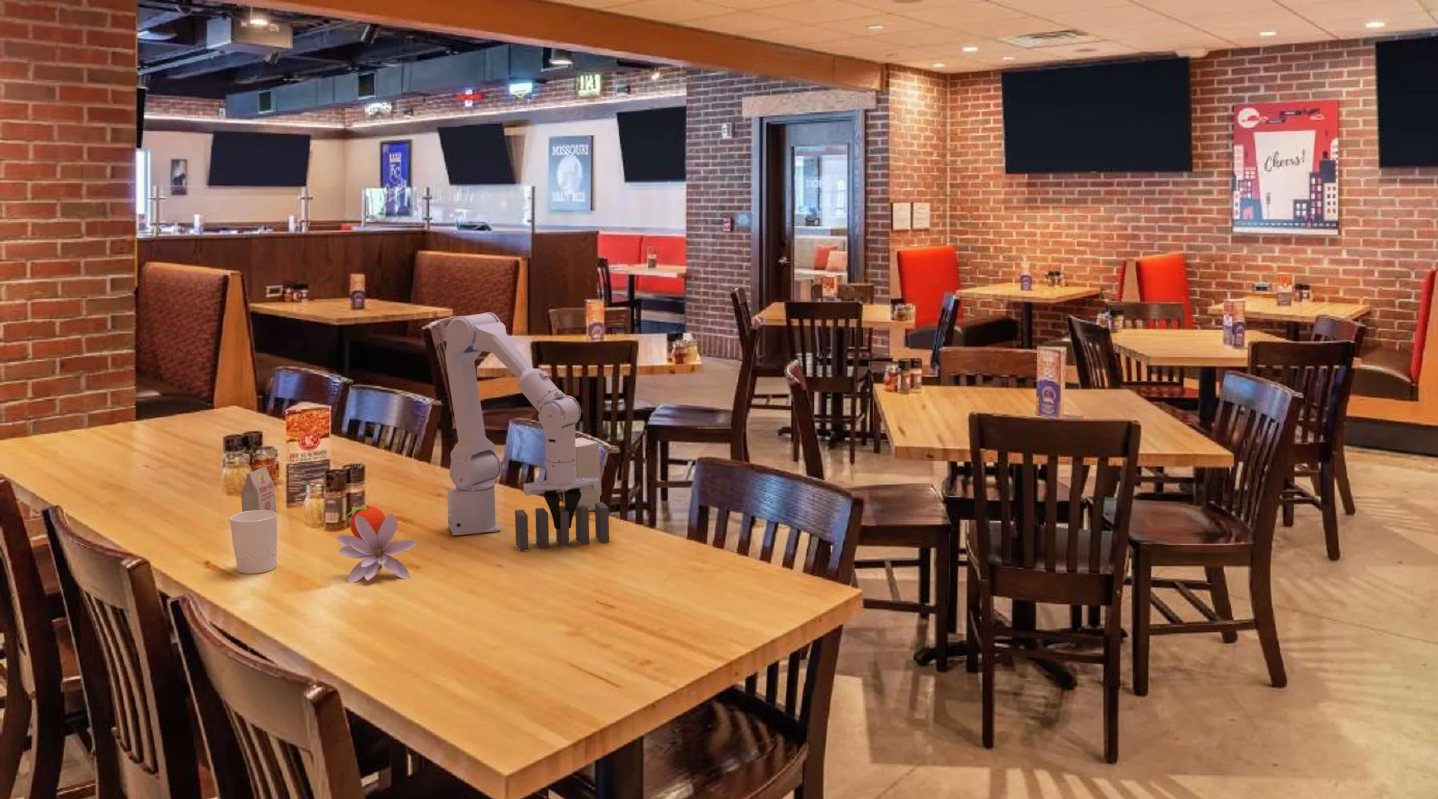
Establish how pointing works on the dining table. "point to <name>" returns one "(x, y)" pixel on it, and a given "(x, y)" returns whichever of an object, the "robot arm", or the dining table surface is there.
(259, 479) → the milk carton
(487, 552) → the dining table surface
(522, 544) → the tile
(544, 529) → the tile
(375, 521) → the tomato
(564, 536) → the tile
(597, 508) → the tile
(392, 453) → the dining table surface
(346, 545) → the water lily
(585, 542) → the tile
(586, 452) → the skincare box
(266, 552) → the white cup
